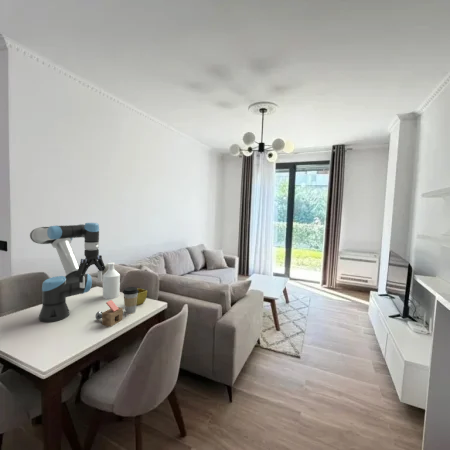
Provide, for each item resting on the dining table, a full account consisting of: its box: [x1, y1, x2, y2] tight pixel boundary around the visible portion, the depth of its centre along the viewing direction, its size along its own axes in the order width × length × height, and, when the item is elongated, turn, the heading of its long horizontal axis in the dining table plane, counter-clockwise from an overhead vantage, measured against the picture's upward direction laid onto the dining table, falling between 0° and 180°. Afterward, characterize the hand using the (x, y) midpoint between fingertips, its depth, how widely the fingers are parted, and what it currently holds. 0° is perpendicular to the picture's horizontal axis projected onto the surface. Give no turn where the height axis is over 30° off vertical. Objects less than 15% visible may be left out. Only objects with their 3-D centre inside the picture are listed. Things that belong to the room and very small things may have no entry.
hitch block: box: [101, 306, 124, 327], centre depth 149 cm, size 6×10×7 cm, turn 164°
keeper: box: [105, 299, 119, 312], centre depth 148 cm, size 7×4×1 cm
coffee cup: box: [122, 286, 139, 315], centre depth 164 cm, size 9×9×15 cm
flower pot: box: [136, 288, 148, 306], centre depth 178 cm, size 9×9×9 cm
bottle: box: [102, 262, 121, 300], centre depth 190 cm, size 12×12×25 cm
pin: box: [94, 310, 116, 320], centre depth 150 cm, size 11×4×4 cm, turn 74°
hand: (91, 284), depth 152 cm, fingers open, 13 cm apart
